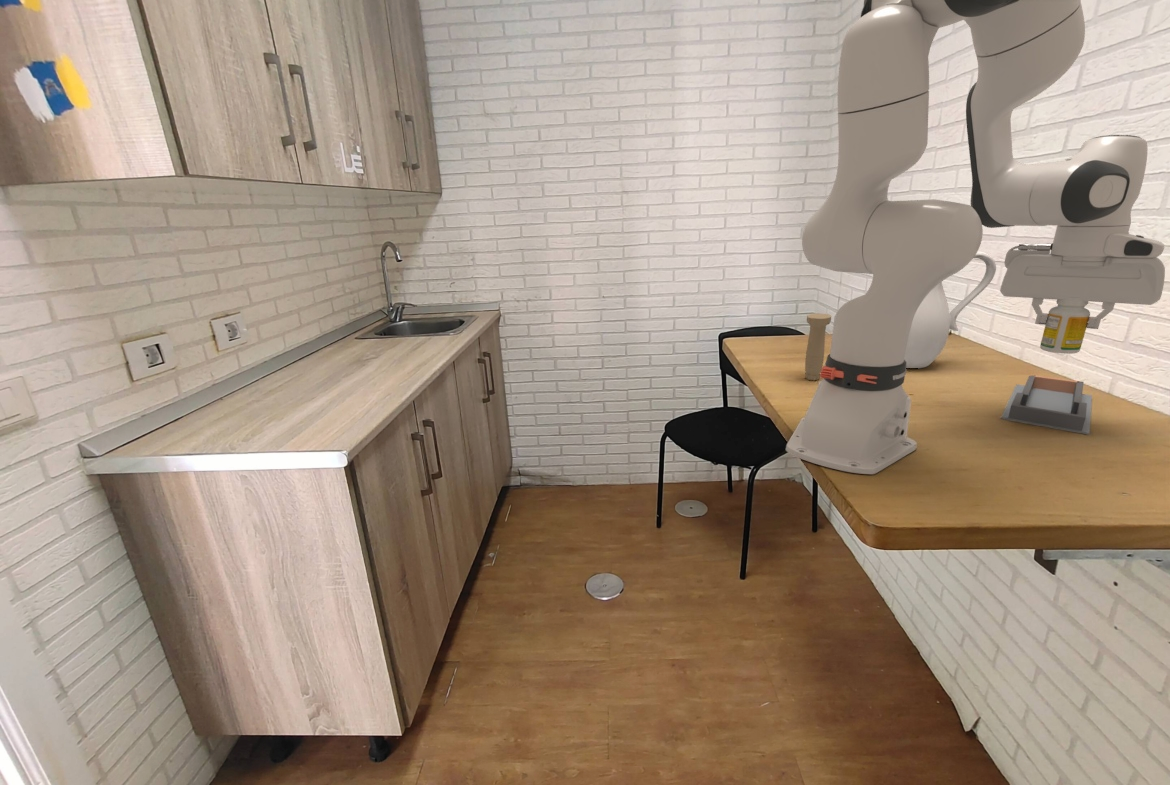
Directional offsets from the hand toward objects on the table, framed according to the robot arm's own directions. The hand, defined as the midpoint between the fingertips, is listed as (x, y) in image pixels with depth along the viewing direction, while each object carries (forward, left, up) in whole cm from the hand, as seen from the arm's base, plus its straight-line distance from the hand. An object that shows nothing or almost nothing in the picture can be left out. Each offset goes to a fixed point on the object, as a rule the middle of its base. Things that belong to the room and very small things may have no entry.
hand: (1065, 325), depth 91 cm
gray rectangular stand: (+7, -1, -17) cm, 19 cm away
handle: (-1, +41, -17) cm, 45 cm away
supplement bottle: (0, 0, -5) cm, 5 cm away
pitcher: (+26, +25, -17) cm, 40 cm away
